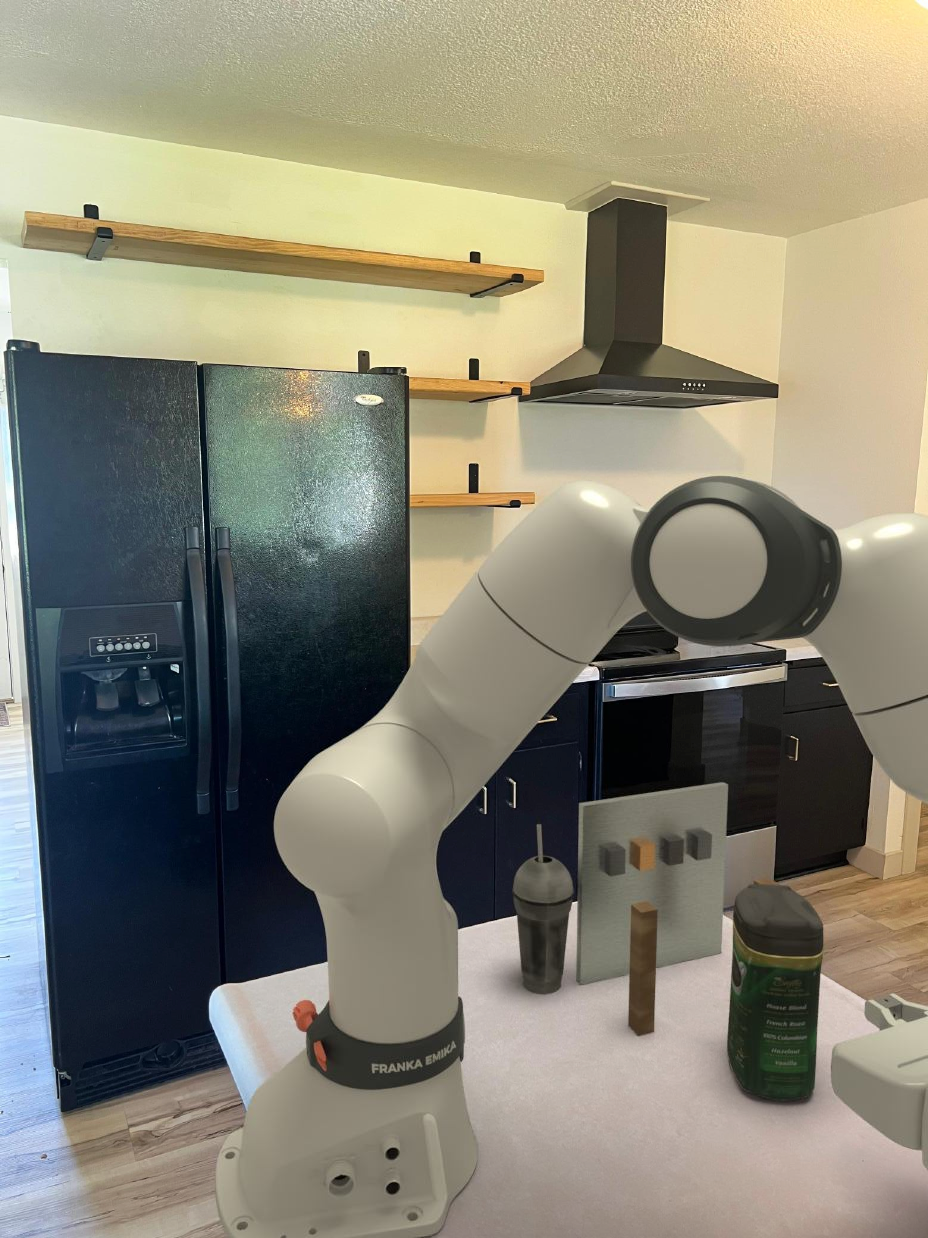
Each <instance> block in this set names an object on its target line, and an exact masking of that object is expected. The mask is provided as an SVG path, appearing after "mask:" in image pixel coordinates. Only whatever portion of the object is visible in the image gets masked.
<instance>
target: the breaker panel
mask: <svg viewBox="0 0 928 1238" xmlns="http://www.w3.org/2000/svg"><path fill="white" fill-rule="evenodd" d="M728 794H729V784H728V783H726V782H724V781H723V782H714V783H708V784H702V785H693V786H688V787H681V788H674V789H667V790H660V791H654V792H647V793H642V794H641V793H639V794H633V795H625V796H618V797H613V798H606V799H599V800H593V801H591V800H590V801H585V802H584V801H583V802H579V803H578V839H577V840H578V842H577V843H578V844H577V845H578V847H577V848H578V849H577V851H578V852H577V903H576V905H577V908H576V909H577V911H576V912H577V913H576V977H575V978H576V979H575V980H576V983H578V985H579V986H582V985H587V984H591V983H595V982H600V981H604V980H608V979H609V980H610V979H612V978H617V977H622V976H627V975H629V972H630V932H631V904H636V903H641V902H646V901H648V902H649V903H650V904H651V905H653V906H654V907H655V908H657V909H658V918H657V952H656V969H657V968H661V967H662V968H663V967H666V966H671V965H675V964H678V963H684V962H688V961H692V960H696V959H700V958H704V957H710V956H713V955H714V956H715V955H719V954H722V947H723V946H722V944H723V941H722V940H723V919H724V895H725V894H724V893H725V872H726V871H725V868H726V848H727V847H726V846H727V822H728V802H729V801H728V800H729V799H728V798H729V797H728Z"/></svg>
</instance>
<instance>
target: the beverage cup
mask: <svg viewBox="0 0 928 1238" xmlns="http://www.w3.org/2000/svg"><path fill="white" fill-rule="evenodd" d="M536 835H537V836H536V837H537V838H536V839H537V855H536V856H533V857H531V858H529V859H527V860H526V861H524V863H522V865H521V866H520V867H518V869H517V871H516V873H515V875H514V879H513V885H512V889H511V890H512V891H511V893H512V895H513V904H514V908H515V910H516V920H517V932H518V944H519V946H518V947H519V958H520V969H521V974H522V979H523V980H522V982H523V983H522V985H523V986H524V988H525V989H526V990H527V991H529V992H531V993H534V994H539V995H547V994H552V993H555V992H558V990H560V988H561V987H562V979H563V975H564V967H565V955H566V948H567V939H568V937H567V936H568V928H569V927H568V926H569V917H570V913H571V910H572V906H573V905H572V904H573V900H574V899H573V898H574V897H575V889H574V886H573V884H574V883H573V879H572V876H571V873H570V872H569V870H568V869H567V867H566V866H565V865H564V864H563V863H562V862H561V861H560V860H559V859H556V858H555V857H553V856H548V855H543V854H544V853H543V838H542V837H543V836H542V824H540V823H538V824H536Z"/></svg>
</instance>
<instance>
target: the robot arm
mask: <svg viewBox="0 0 928 1238" xmlns="http://www.w3.org/2000/svg"><path fill="white" fill-rule="evenodd" d="M645 612H647V613H648V614H649V615H650V616H651V618H652V619H653V620H654V621H655V622H656V623H657V624H658V625H659V626H661V627H662V628H664V629H665V631H667V632H669V633H671V634H672V635H674V636H676V637H678V638H680V639H682V640H685V641H688V642H690V643H693V644H697V645H702V646H708V647H709V646H710V647H738V646H744V645H751V644H756V643H764V642H774V641H782V640H784V641H785V640H791V639H792V640H793V639H801V638H802V639H804V640H805V641H807V642H808V643H809V644H810V645H812V647H814V649H815V650H816V651H817V652H818V654H819V655H820V657H822V659H823V660H824V662H825V663H826V665H827V666H828V669H829V670H830V672H831V673H832V676H833V678H834V679H835V681H836V683H837V685H838V687H839V690H840V691H841V693H842V696H843V698H844V700H845V702H846V704H847V707H848V708H849V710H850V712H851V714H852V716H853V718H854V721H855V723H856V724H857V727H858V728H859V731H860V733H861V735H862V737H863V739H864V741H865V743H866V745H867V747H868V749H869V751H870V752H871V755H873V757H874V759H875V761H876V762H877V764H878V765H879V767H880V768H881V770H882V771H883V772H884V773H885V774H886V776H887V777H888V778H889V780H891V781H892V783H893V784H894V785H895V786H896V787H897V788H899V789H900V790H901V791H903V792H904V793H906V794H908V795H910V796H911V797H913V798H915V799H916V800H918V801H920V802H922V803H925V804H927V805H928V515H927V514H922V513H916V512H897V513H887V514H881V515H876V516H874V517H870V518H866V519H864V520H862V521H859V522H856V523H854V524H852V525H849V526H846V527H843V528H838V529H833V528H832V527H830V526H828V525H827V524H825V523H823V522H822V521H820V520H819V519H817V518H815V517H814V516H813V515H811V514H809V513H807V512H806V511H804V510H803V509H801V507H800V506H799V505H798V504H797V503H796V502H795V501H794V500H793V499H792V498H790V497H789V496H788V495H787V494H785V493H784V492H782V491H781V490H779V489H777V488H775V487H773V486H771V485H769V484H766V483H764V482H760V481H757V480H750V479H745V478H742V477H736V476H730V475H711V476H705V477H699V478H697V479H693V480H689V481H687V482H685V483H683V484H681V485H679V486H678V485H677V487H675V488H673V489H672V490H670V491H668V492H667V493H666V494H664V495H663V496H662V497H660V499H659V500H657V501H656V502H655V504H653V506H651V508H648V507H646V506H644V505H642V504H640V503H638V502H637V501H636V500H635V499H633V498H632V497H631V496H629V495H628V494H627V493H625V492H623V491H621V490H620V489H618V488H616V487H615V486H611V485H609V484H607V483H603V482H599V481H594V480H589V479H588V480H587V479H586V480H583V479H581V480H574V481H570V482H568V483H566V484H564V485H562V486H560V487H559V488H557V489H556V490H555V491H554V492H553V493H551V494H550V495H549V496H548V497H546V498H545V499H544V500H543V501H542V502H540V503H539V504H538V505H537V506H536V507H535V508H534V509H533V510H532V511H531V512H530V513H528V514H527V515H526V516H525V517H524V518H523V519H522V520H521V521H520V522H519V523H518V524H516V526H515V527H514V528H513V529H512V530H511V531H510V532H509V533H508V534H507V535H506V536H505V537H504V539H503V540H502V541H501V542H500V543H499V544H498V545H497V546H496V547H495V548H494V549H493V551H492V552H491V553H490V554H489V556H487V558H486V560H485V561H483V563H482V564H481V566H479V568H478V569H477V570H476V572H475V573H473V575H472V577H471V578H470V579H469V581H468V582H467V583H466V584H465V586H464V587H463V588H462V589H461V590H460V592H459V593H458V594H457V596H456V597H455V598H454V599H453V601H452V602H451V603H450V604H449V606H448V607H447V609H446V610H445V611H444V613H443V614H442V615H441V616H440V618H438V620H437V621H436V623H435V624H434V625H433V626H432V628H431V629H430V630H429V632H427V634H426V636H425V637H424V638H423V639H422V640H421V641H420V643H419V645H418V647H417V650H416V652H415V658H414V660H413V661H412V663H411V665H410V667H409V669H408V671H407V672H406V674H405V675H404V677H403V680H402V682H401V683H400V684H399V685H398V687H397V689H396V691H395V692H394V694H393V695H392V696H391V698H390V699H389V700H388V702H387V703H386V704H385V706H384V707H383V708H382V709H381V710H380V711H379V712H378V713H377V714H376V715H374V716H373V717H372V718H371V719H370V720H369V721H367V722H366V723H365V724H364V725H363V726H361V727H360V728H358V729H357V730H355V731H354V732H352V733H351V734H349V735H348V736H346V737H344V738H342V739H341V740H339V741H338V742H336V743H334V744H332V745H331V746H329V747H328V748H326V749H324V750H323V751H321V752H319V753H318V754H315V756H314V757H313V758H312V759H310V760H309V761H308V763H307V764H306V765H304V767H303V768H302V770H301V771H299V773H298V774H297V775H296V776H295V778H294V779H293V780H292V782H291V783H290V785H288V787H287V788H286V790H285V791H284V792H283V794H282V796H281V797H280V799H279V800H278V803H277V806H276V808H275V812H274V813H275V814H274V820H273V833H274V834H273V835H274V841H275V844H276V849H277V851H278V854H279V856H280V858H281V860H282V862H283V863H284V865H285V866H286V868H287V869H288V871H289V872H290V873H291V874H292V876H293V877H294V878H295V879H297V881H298V882H299V883H301V884H302V885H304V886H305V887H306V888H308V889H309V890H311V891H313V892H314V894H315V897H316V899H317V900H316V901H317V902H318V906H319V908H320V912H321V915H322V919H323V920H322V921H323V924H324V928H325V929H324V930H325V936H326V953H327V954H326V955H327V976H328V977H327V978H328V1001H327V1003H326V1004H325V1006H324V1008H323V1009H322V1010H321V1011H320V1012H319V1013H318V1012H317V1009H316V1008H317V1007H316V1005H315V1003H314V1002H313V1001H311V1000H309V999H304V1000H300V1001H299V1002H297V1003H296V1004H295V1006H294V1007H293V1009H292V1016H293V1019H294V1021H295V1025H296V1028H297V1029H298V1031H300V1032H302V1033H306V1034H305V1046H306V1047H305V1048H304V1049H303V1050H301V1051H300V1052H299V1053H297V1055H296V1056H295V1057H293V1058H292V1059H291V1060H290V1061H288V1062H287V1063H286V1064H285V1065H283V1067H282V1068H280V1069H279V1070H278V1071H277V1072H276V1073H273V1075H272V1076H271V1077H269V1078H268V1079H267V1080H266V1081H264V1082H263V1083H262V1084H261V1085H259V1086H258V1087H257V1089H256V1090H255V1091H254V1093H253V1094H252V1096H251V1098H250V1100H249V1104H248V1105H247V1110H246V1113H245V1116H244V1117H245V1118H244V1122H243V1127H241V1128H239V1129H236V1130H235V1131H232V1133H230V1134H229V1135H228V1137H227V1138H226V1139H225V1141H224V1142H223V1144H222V1146H221V1149H220V1151H219V1153H218V1156H217V1160H216V1165H215V1176H214V1177H215V1179H214V1192H215V1193H214V1194H215V1203H216V1209H217V1214H218V1218H219V1220H220V1224H221V1228H222V1229H223V1231H224V1234H225V1235H226V1238H422V1237H429V1236H432V1235H434V1234H437V1233H438V1232H439V1231H440V1230H441V1229H442V1228H443V1226H444V1224H445V1221H446V1218H447V1215H448V1211H449V1208H450V1205H451V1203H452V1201H453V1200H454V1199H455V1198H456V1196H457V1195H458V1194H459V1193H460V1192H461V1191H462V1190H463V1189H464V1188H465V1186H466V1185H467V1184H468V1182H469V1181H470V1179H471V1178H472V1176H473V1174H474V1172H475V1169H476V1166H477V1164H478V1156H479V1146H478V1145H479V1144H478V1141H477V1137H476V1135H475V1131H474V1128H473V1126H472V1123H471V1119H470V1114H469V1111H468V1107H467V1106H468V1105H467V1101H466V1096H465V1095H466V1094H465V1090H464V1088H465V1087H464V1081H463V1074H462V1073H463V1071H462V1062H463V1060H464V1059H465V1058H464V1057H465V1056H464V1053H465V1043H466V1020H465V1015H464V1014H465V1013H464V1003H463V999H462V997H461V996H459V923H458V917H457V914H456V912H455V910H454V908H453V907H452V905H451V904H450V903H449V902H448V901H447V900H446V899H445V898H444V896H443V892H442V888H441V884H440V881H439V876H438V871H437V853H438V852H437V851H438V845H439V841H440V839H441V837H442V833H443V831H445V829H447V827H448V826H449V825H450V824H451V823H452V822H453V821H454V820H455V819H456V818H457V817H458V816H459V815H460V814H461V813H462V811H464V809H465V808H466V807H467V806H468V805H469V803H470V802H471V801H472V800H473V799H474V798H475V797H476V795H478V793H479V792H480V791H481V790H482V789H483V787H484V786H485V785H486V784H487V783H488V781H489V780H490V779H491V778H492V777H493V776H494V774H495V773H496V772H497V771H498V770H499V769H500V767H501V766H502V765H503V763H505V762H506V761H507V759H508V758H509V757H510V755H512V753H513V752H514V751H515V750H516V749H517V748H518V746H519V745H520V744H521V743H522V741H523V740H524V739H525V738H526V737H527V736H528V734H529V733H530V732H531V731H532V730H533V728H534V727H535V726H536V725H537V724H538V723H539V722H540V721H541V720H542V718H543V717H544V716H545V715H546V713H548V712H549V710H550V709H552V707H553V706H554V704H555V703H557V701H558V700H559V699H560V698H561V696H563V694H564V693H565V692H566V691H567V690H568V688H569V687H570V686H571V685H572V684H573V683H574V682H575V680H576V679H577V678H578V677H579V676H580V675H581V674H582V673H583V671H584V670H585V669H587V667H588V666H589V665H590V663H591V662H592V661H593V660H594V659H595V658H596V656H597V655H598V654H599V653H600V651H602V650H603V648H604V647H605V646H606V645H607V643H608V642H609V641H610V640H611V639H612V638H613V637H614V635H616V634H617V632H618V631H619V630H620V629H621V628H622V627H623V626H625V625H626V624H628V623H629V621H631V620H632V619H634V618H635V617H637V616H638V615H641V614H643V613H645ZM863 1013H864V1017H865V1019H866V1020H867V1022H869V1023H871V1024H872V1025H873V1026H874V1027H876V1028H878V1031H874V1032H871V1033H868V1034H864V1035H861V1036H858V1037H855V1038H851V1039H849V1040H845V1041H841V1042H838V1043H835V1044H834V1045H833V1047H832V1051H831V1059H830V1060H831V1063H830V1080H831V1086H832V1091H833V1092H834V1094H835V1096H837V1098H838V1099H839V1100H840V1101H841V1102H842V1103H843V1104H844V1105H845V1106H847V1108H849V1109H850V1110H851V1111H852V1112H854V1114H856V1115H857V1116H859V1118H861V1119H862V1120H863V1121H865V1122H866V1123H867V1124H868V1125H869V1126H871V1127H872V1128H874V1129H875V1130H876V1131H878V1133H880V1134H882V1135H883V1136H884V1137H885V1138H887V1139H888V1140H890V1141H892V1142H893V1143H895V1144H897V1145H899V1146H901V1147H904V1148H907V1149H910V1150H914V1151H921V1161H922V1165H923V1167H924V1168H925V1169H927V1171H928V1005H923V1004H920V1003H916V1002H912V1001H907V1000H905V999H904V998H902V997H901V996H899V995H897V994H896V993H889V994H887V995H883V996H879V997H876V998H871V999H868V1000H866V1001H864V1011H863Z"/></svg>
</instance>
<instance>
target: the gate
mask: <svg viewBox="0 0 928 1238" xmlns="http://www.w3.org/2000/svg"><path fill="white" fill-rule="evenodd" d="M753 884H769V885H781V883H778V882H777V881H775V880H773V879H771V878H770V877H764V878H759V879H755V880H753ZM657 918H658V909H657V908H655V907H654V906H653V905H651V904H650V903H649V902H648V901H646V902H641V903H636V904H631V932H630V972H629V974H628V975H629V976H628V977H629V978H628V979H629V982H628V1013H627V1015H628V1016H627V1017H628V1019H627V1020H628V1021H627V1022H628V1025H627V1027H629V1029H631V1030H632V1032H633V1033H634V1034H635V1035H637V1036H638V1037H640V1036H644V1035H647V1034H651V1033H654V1032H655V1019H656V1018H655V1017H656V1016H655V1013H656V1011H655V1010H656V987H657V986H656V983H657V980H656V977H657V968H656V952H657Z"/></svg>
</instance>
